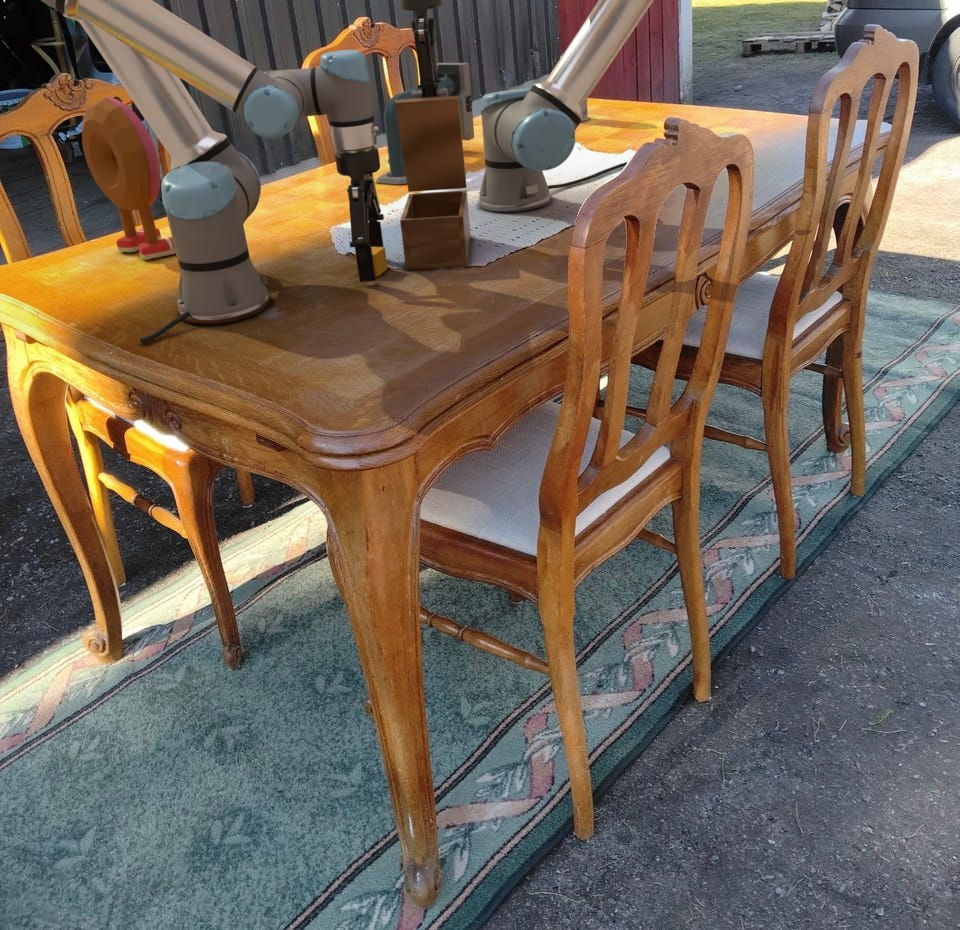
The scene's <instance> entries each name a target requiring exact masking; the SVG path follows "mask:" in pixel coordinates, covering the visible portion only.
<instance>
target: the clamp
mask: <svg viewBox="0 0 960 930" xmlns="http://www.w3.org/2000/svg"><path fill="white" fill-rule="evenodd" d="M436 66H437V73H438V77H437V79H440V78H441V83H436V84H438V89H447V90H448V96H457V95H458V102H459V112H460V122H461V133H462V141H470V140H473V139H474V138H475V128H474V114H473V113H474V112H473V101H472V99H473V98H472V88H471V87H472V86H471V74H470V63H469V62H438V63H436ZM421 90H422V88H420V89H418V86H416V87H413V88H411V89H407V90H404V91H402V92H399V93H397V94H394V95H393V96H392V97H391V98H390V99H389V100H388V102H387V104H386V105H385V107H384V112H383V123H384V132H385V139H386V147H387V156H388V159H387V163H388V165H389V171H388V172H386V173H384V174H381V175H379V176H377V178H376V181H375V182H376V183H377V184H387V185H388V184H389V185H407V179H406V172H405V166H404V159H403V152H402V146H401V139H400V132H399V125H398V119H397V112H396V105H395V100H400V99H412V91H421Z"/></svg>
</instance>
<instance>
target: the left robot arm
mask: <svg viewBox="0 0 960 930" xmlns="http://www.w3.org/2000/svg"><path fill="white" fill-rule="evenodd" d="M40 1H41V2H43V3H44V4H46V5H48V6H49V7H50V8H53V9H54V10H56V11H58V12H59V13H61V14H62V16H63V17H65V18H68V19H70V20H74V21H76V22H78V23H79V24H80V25H81V26H82V28H83V29H84V31H85V33H86V34H87V35H88V37H89V39H90V40H91V42H92V43H93V44H94V46H95V47H96V49H97V50H98V52H99V53H100V55H101V56H102V58H103V59H104V61H105V62H106V64H107V65H108V67H109V69H110V70H111V72H112V73H113V75H114V76H115V77H116V78H117V80H118V81H119V83H120V84H121V86H122V88H123V89H124V90H125V92H126V93H127V95H128V97H129V98H130V100H131V102H132V101H133V102H134V104H135V105H136V107H137V108H138V110H139V111H140V113H141V114H142V116H143V117H144V118H145V119H144V121H145V122H146V123H147V125H148V126H149V127H150V129H151V130H152V132H153V133H154V135H155V136H156V138H157V139H158V141H159V143H160V144H161V145H162V147H163V149H164V150H165V151H166V153H167V154H168V156H169V165H168V173H166V175H165V176H164V177H163V178H162V180H161V182H160V190H161V199H162V206H163V208H164V210H165V214H166V218H167V221H168V226H169V230H170V234H171V237H172V238H173V243H174V247H175V251H176V254H175V255H176V258H177V262H178V266H179V283H178V294H177V310H178V314H179V315H178V316H177V317H175V318H174V319H172V320H171V321H169V322H168V323H166V324H165V325H164V326H163V327H161V328H160V329H158V330H156V331H155V332H153V333H151V334H149V335H146V336H144V337H141V338H139V342H140V343H141V344H146V343H148V342H151V341H153V340H155V339H157V338H159V337H160V336H162V335H164V334H165V333H166V332H168V331H169V330H171V329H172V328H173V327H175V326H176V325H178V324H179V323H181V322H182V321H184V322H186V323H189V324H193V325H202V326H203V325H204V326H205V325H206V326H210V325H222V324H230V323H233V322H239V321H241V320H245V319H248V318H251V317H253V316H256V315H258V314H260V312H263V311H264V310H265V309H266V308H267V307H268V306H269V305H270V296H269V291H268V290H267V287H266V285H269V283H268V277H267V276H266V277H265V276H262V275H260V274H259V272H258V270H257V269H256V267H255V265H254V264H253V262H252V260H251V257H250V251H249V246H248V241H247V236H246V232H245V227H244V224H245V222H246V221H247V220H248V218H249V217H251V215H252V214H253V213H254V212H255V210H256V209H257V206H258V205H259V201H260V198H261V192H262V182H261V181H262V180H261V177H260V173H259V171H258V170H257V167H256V165H255V164H254V163H253V162H252V160H251V159H249V158H248V156H246V155H244V154H243V153H242V152H239V151H237V150H236V148H235V147H234V145H233V143H232V142H231V140H230V139H229V137H228V136H227V134H225V133H222V132H221V133H220V132H217V131H215V130H214V129H213V128H212V127H211V125H210V124H209V122H208V121H207V119H206V118H205V116H204V115H203V113H202V111H201V110H200V108H199V107H198V105H197V104H196V102H195V100H194V98H193V97H192V96H191V95H190V93H189V91H188V90H187V88H186V87H185V85H184V83H183V82H182V81H184V82H185V83H187V84H189V85H191V86H192V87H193V88H195V89H197V90H198V91H200V92H201V93H203V94H204V95H207V96H208V97H210V98H211V99H213V100H214V101H216V102H218V103H219V104H221V105H222V106H223V107H226V108H227V109H229V110H230V111H232V112H234V113H236V114H237V115H238V116H240V117H242V118H243V119H245V122H246V123H247V125H248V127H249V128H250V129H251V131H252V132H253V133H254V134H255V135H257V136H259V137H260V138H263V139H268V140H269V139H270V140H275V139H279V138H281V137H284V136H285V135H287V134H289V133H290V132H291V131H292V129H294V128H295V127H296V125H297V123H298V121H299V120H300V118H305V117H314V116H324V115H327V116H328V119H329V127H330V134H331V141H332V148H333V149H334V150H335V152H334V159H335V164H336V172H337V173H338V174H339V175H340V176H343V177H349V178H350V184H348V186H347V189H346V191H347V196H348V205H349V221H350V234H351V235H350V236H351V241H350V242H349V248H354V251H355V253H356V258H357V264H358V271H359V275H358V277H359V283H366V282H376V280H377V277H376V276H375V271H374V263H373V256H372V249H371V247H385V246H384V241H383V240H384V239H383V231H382V224H381V223H382V222H381V221H384V220H385V215H384V213H381V212H382V209H381V206H380V202H379V198H378V197H379V196H378V193H377V188H376V183H375V179H374V174H375V173H377V172H378V171H379V170H380V169H381V162H380V161H381V160H380V153H379V149H378V147H376V145H377V143H378V141H377V140H378V139H377V133H379V131H380V128H379V127H378V126H376V125H375V116H374V108H373V98H372V90H371V79H370V77H369V71H368V66H367V59H366V56H365V54H364V53H363V52H362V51H360V50H357V49H341V50H340V49H339V50H335V51H329V52H325V53H323V54H322V55H321V56H320V59H319V60H320V62H319V65H317V66H316V67H305V68H292V69H291V68H290V69H278V70H275V69H270V70H267V71H262V70H261V69H259V68H258V67H256V66H255V65H254V64H252V63H250V62H249V61H247V60H246V59H244V58H243V57H241V56H240V55H238V54H236V53H235V52H234V51H232V50H230V49H229V48H227V46H226V47H225V46H224V45H222V44H221V43H220V42H218V41H216V40H215V39H213V38H211V37H210V36H208V35H207V34H206V33H204V32H202V31H201V30H199V29H198V28H196V27H195V26H193V25H191V24H190V23H188V22H186V21H185V20H184V19H182V18H181V17H179V16H177V15H176V14H174V13H173V12H171V11H170V10H168V9H166V8H165V7H163V6H162V5H160V4H159V3H157V2H155V1H154V0H40ZM356 258H355V259H356Z"/></svg>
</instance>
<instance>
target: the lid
mask: <svg viewBox="0 0 960 930" xmlns="http://www.w3.org/2000/svg"><path fill="white" fill-rule="evenodd" d="M395 105H396V112H397V119H398V125H399V132H400V139H401V146H402V152H403V159H404V166H405V172H406V179H407V183H406V185H407V191H408V193H409V192H410V193H411V192H413V193H415V192H427V191H428V192H429V191H430V192H431V191H444V190H445V191H447V190H462V189H467V187H468V186H467V185H468V184H467V175H466V165H465V154H464V146H463V145H464V144H463V143H464V142H463V140H462V133H461V122H460V112H459V102H458V95H457V96H448V90H447V89H437V97H429V98H423V97H422V90H421V91H412V99H400V100H395Z"/></svg>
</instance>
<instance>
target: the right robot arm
mask: <svg viewBox="0 0 960 930" xmlns="http://www.w3.org/2000/svg"><path fill="white" fill-rule="evenodd" d="M654 1H655V0H598V1H597V2H596V3H595V6H594V7H593V9H592V10H591V11H590V13H589V15H588V16H587V18H586V19H585V21H584V22H583V24H582V25H581V26H580V28H579V30H578V31H577V33H576V34H575V35H574V37H573V39H572V40H571V42H570V44H568V46H567V47H566V49H565V51H563V53H564V54H563V53H562V54H563V55H562V54H561V56H562V57H561V58H560V57H559V60H558V62H556V65H555V66H554V68H553V69H552V71H551V72H550V74H549V75H548V77H547V78H546V80H544V81H541V82H535V83H533V85H532V86H531V87H530V88H529V87H527V88H518V89H509V90H501V91H494V92H489V93H485V94H484V95H483V96H482V98H481V100H480V101H481V102H480V108H481V109H480V115H481V126H482V138H483V139H482V140H483V154H484V167H485V168H484V173H483V177H482V182H481V186H480V190H479V195H478V196H479V198H478V202H479V207H480V208H482V209H484V210H485V211H490V212H494V213H520V212H521V213H522V212H526V211H532V210H533V211H534V210H536V209H540V208H543V207H544V206H546V205H548V204H549V203H550V202H551V194H550V190H551V189H552V190H553V189H561V188H566V187H571V186H574V185H577V184H580V183H584V182H587V181H589V180H593V179H595V178H597V177H600V176H603V175H605V174H606V173H607V174H608V173H611V172H612V171H615V170H618V169H620V168H624V167H626V166H625V165H626V164H627V162H628V161H625V162H622V163H619V164H617V165H614V166H611V167H608V168H605V169H603V170H600V171H599V172H596V173H593V174H591V175H588V176H585V177H582V178H579V179H575V180H572V181H569V182H564V183H560V184H549V185H548V183H547V180H546V177H545V174H544V172H545V171H550V170H553V169H556V168H557V167H560V166H561V165H563V163H564V162H565V161H566V160H567V159H569V157H570V156H571V154H572V152H573V150H574V148H575V145H576V130H577V129H578V127H579V125H580V124H581V122H583V121H582V113H581V108H582V106H583V104H584V103H585V101H586V100H587V101H588V98H589V97H590V95H591V94H592V92H593V91H594V89H595V88H596V86H597V85H598V84H599V82H600V81H601V79H602V77H603V76H604V75H605V73H606V72H607V71H608V68H610V66H611V64H612V63H613V61H614V60H615V58H616V57H617V55H618V54H619V52H620V51H621V49H622V48H623V46H624V45H625V44H626V42H627V41H628V39H629V37H630V36H631V34H632V33H633V32H634V31H635V30H636V28H637V26H638V24H639V23H640V22H641V20H642V18H643V17H644V15H645V14H646V13H647V11H648V10H649V8H650V7H651V5H652V4H653V2H654ZM399 2H400V8H401V10H403V11H414V19H413V20H412V21H411V30H412V32H413V37H414V46H415V48H416V49H415V50H416V59H417V66H418V67H417V68H418V75H419V84H417V86H416V87H418V89H420V88H422V97H423V98H429V97H437V89H438V84H436V83H441V78H440V79H437V77H438V73H437V66H436V64H437V56H436V42H437V41H436V40H437V39H436V30H435V29H436V17H435V18H434V17H433V18H432V14H431V10H432V9H433V10H434V9H438V8H441V7H442V6H443V3H444V0H399ZM543 171H544V172H543Z"/></svg>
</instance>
